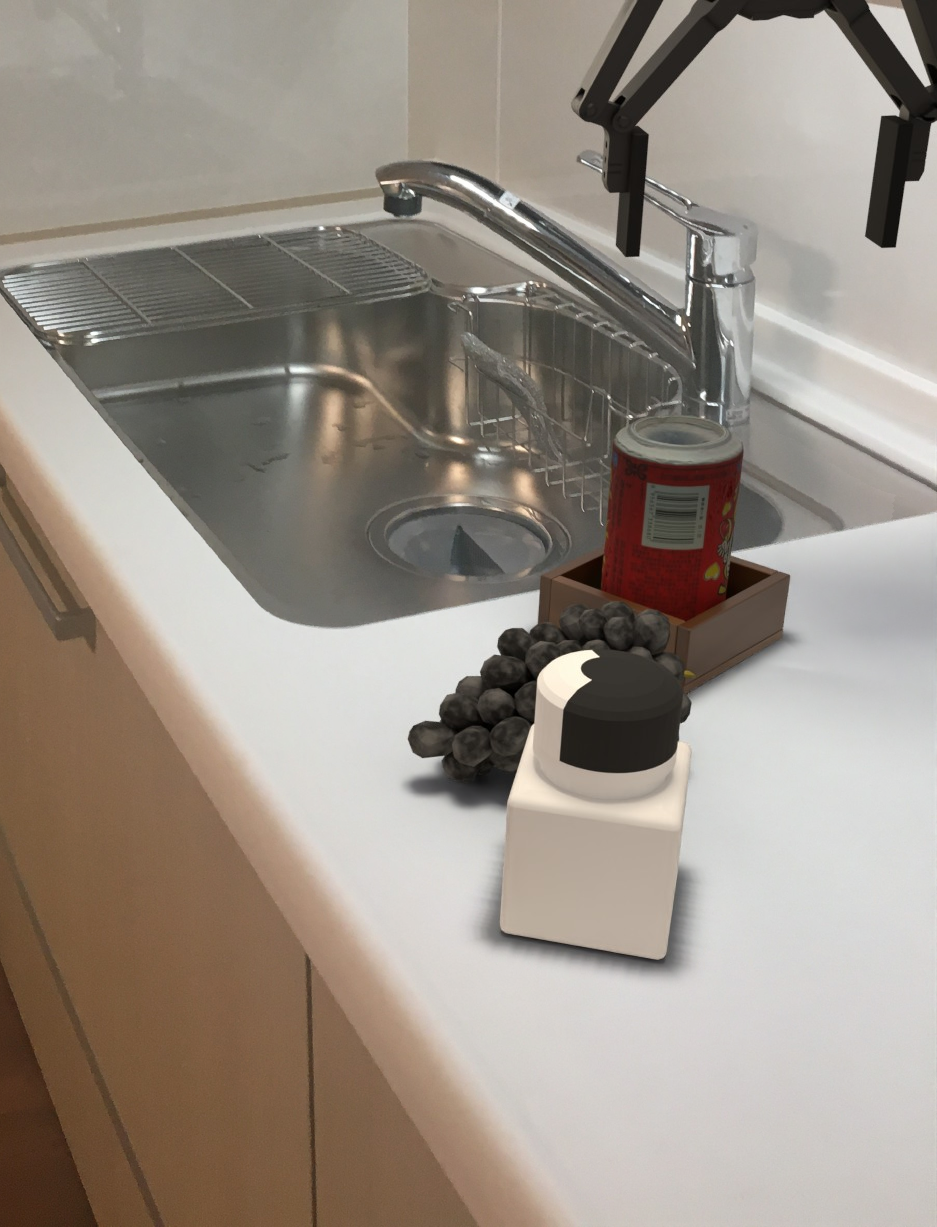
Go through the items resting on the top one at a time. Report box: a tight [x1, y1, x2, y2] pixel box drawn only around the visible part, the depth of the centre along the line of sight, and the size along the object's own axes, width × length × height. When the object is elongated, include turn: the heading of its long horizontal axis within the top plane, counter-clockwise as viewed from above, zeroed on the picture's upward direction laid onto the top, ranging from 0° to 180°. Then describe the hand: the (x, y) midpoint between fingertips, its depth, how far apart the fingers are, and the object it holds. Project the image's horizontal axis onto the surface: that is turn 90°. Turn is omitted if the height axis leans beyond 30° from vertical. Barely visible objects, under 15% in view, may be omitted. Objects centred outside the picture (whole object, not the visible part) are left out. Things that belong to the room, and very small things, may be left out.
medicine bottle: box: [499, 650, 693, 961], centre depth 74 cm, size 7×7×12 cm
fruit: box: [407, 601, 696, 784], centre depth 86 cm, size 9×8×15 cm
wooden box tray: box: [537, 545, 791, 694], centre depth 98 cm, size 10×10×4 cm
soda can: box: [601, 414, 745, 622], centre depth 96 cm, size 7×7×12 cm
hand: (753, 247), depth 92 cm, fingers open, 13 cm apart
